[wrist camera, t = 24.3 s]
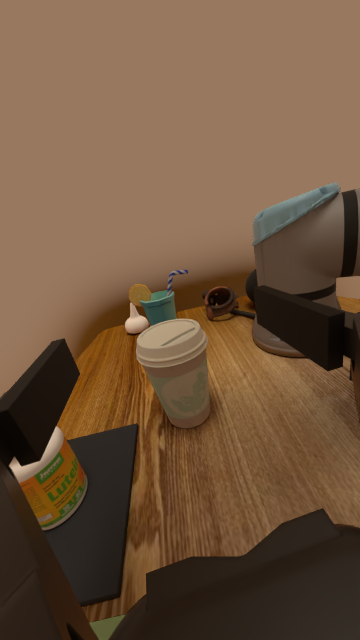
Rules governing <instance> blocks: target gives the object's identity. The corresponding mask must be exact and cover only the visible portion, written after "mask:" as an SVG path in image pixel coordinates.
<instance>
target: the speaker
mask: <svg viewBox="0 0 360 640" xmlns="http://www.w3.org/2000/svg"><path fill="white" fill-rule="evenodd" d="M254 287H258V282H257V272H256V269H255V270H254V271H253V272H252V273H251V274H250V275H249V277H248V278H247V281H246V293H247V295H248V297H249V298H250V300H251V301H253V302H254V303H255V298H254Z"/></svg>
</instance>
